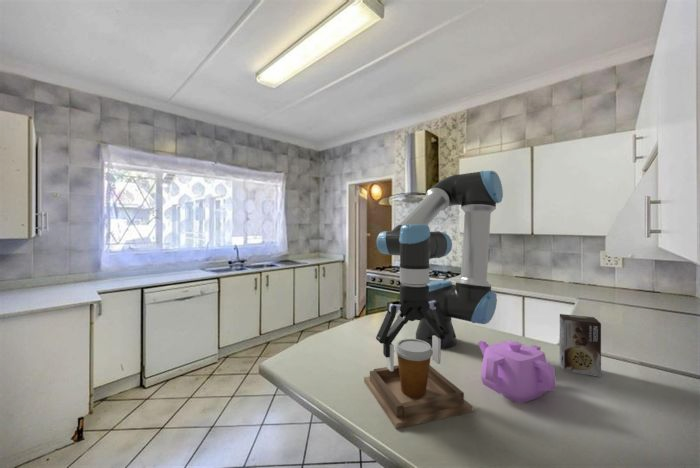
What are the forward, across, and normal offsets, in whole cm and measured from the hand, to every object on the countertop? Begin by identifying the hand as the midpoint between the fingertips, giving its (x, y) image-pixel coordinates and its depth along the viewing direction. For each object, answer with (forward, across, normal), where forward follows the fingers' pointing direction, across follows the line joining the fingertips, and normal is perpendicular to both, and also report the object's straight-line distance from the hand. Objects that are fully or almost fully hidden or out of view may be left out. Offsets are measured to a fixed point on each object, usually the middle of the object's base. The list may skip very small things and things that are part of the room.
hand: (413, 365), depth 74 cm
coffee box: (+8, -56, +3) cm, 57 cm away
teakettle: (+8, -29, +4) cm, 30 cm away
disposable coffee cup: (+7, 0, 0) cm, 7 cm away
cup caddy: (+8, 0, 0) cm, 8 cm away
